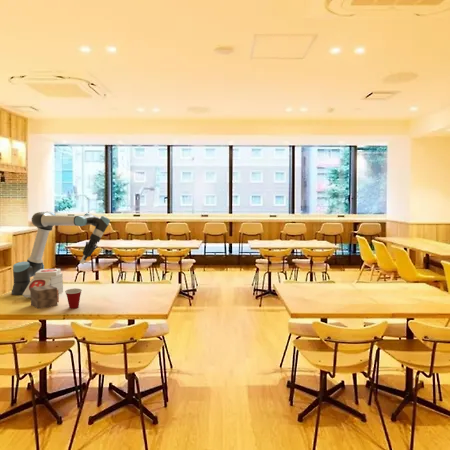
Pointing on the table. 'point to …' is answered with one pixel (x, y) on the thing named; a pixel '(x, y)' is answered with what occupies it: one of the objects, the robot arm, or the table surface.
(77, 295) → the plastic cup
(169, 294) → the table surface
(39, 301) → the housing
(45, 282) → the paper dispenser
